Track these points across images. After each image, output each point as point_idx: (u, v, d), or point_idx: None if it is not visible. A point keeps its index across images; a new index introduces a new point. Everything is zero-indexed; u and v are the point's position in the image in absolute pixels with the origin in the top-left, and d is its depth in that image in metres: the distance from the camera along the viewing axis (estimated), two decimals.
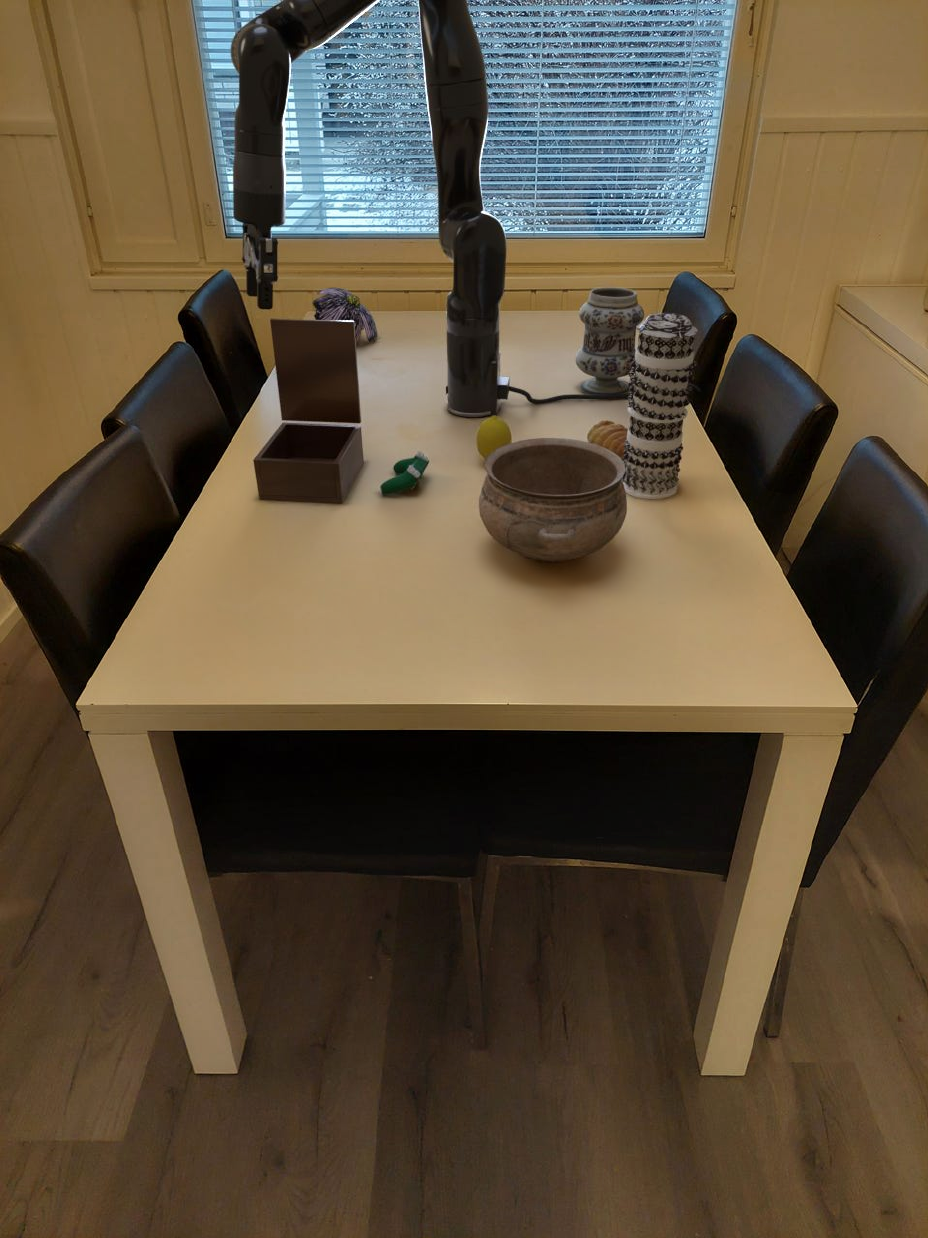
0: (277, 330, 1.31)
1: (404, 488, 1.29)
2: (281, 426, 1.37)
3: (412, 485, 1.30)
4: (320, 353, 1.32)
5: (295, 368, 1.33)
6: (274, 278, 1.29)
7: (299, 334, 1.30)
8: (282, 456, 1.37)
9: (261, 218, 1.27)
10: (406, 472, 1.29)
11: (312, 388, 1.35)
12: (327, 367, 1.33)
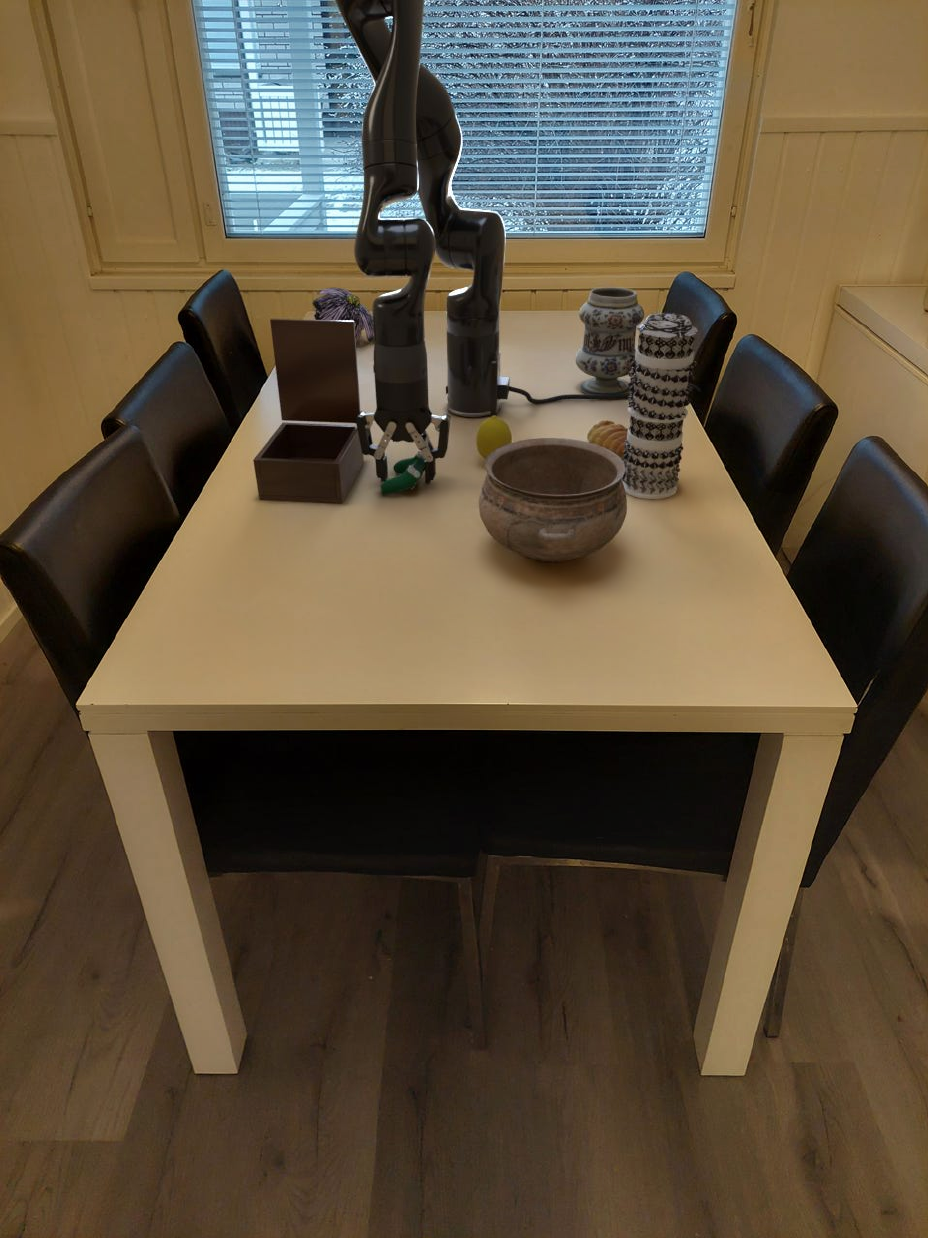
0: (277, 330, 1.31)
1: (404, 488, 1.29)
2: (281, 426, 1.37)
3: (412, 485, 1.30)
4: (320, 353, 1.32)
5: (295, 368, 1.33)
6: (446, 450, 1.31)
7: (299, 334, 1.30)
8: (282, 456, 1.37)
9: (427, 398, 1.25)
10: (406, 472, 1.29)
11: (312, 388, 1.35)
12: (327, 367, 1.33)
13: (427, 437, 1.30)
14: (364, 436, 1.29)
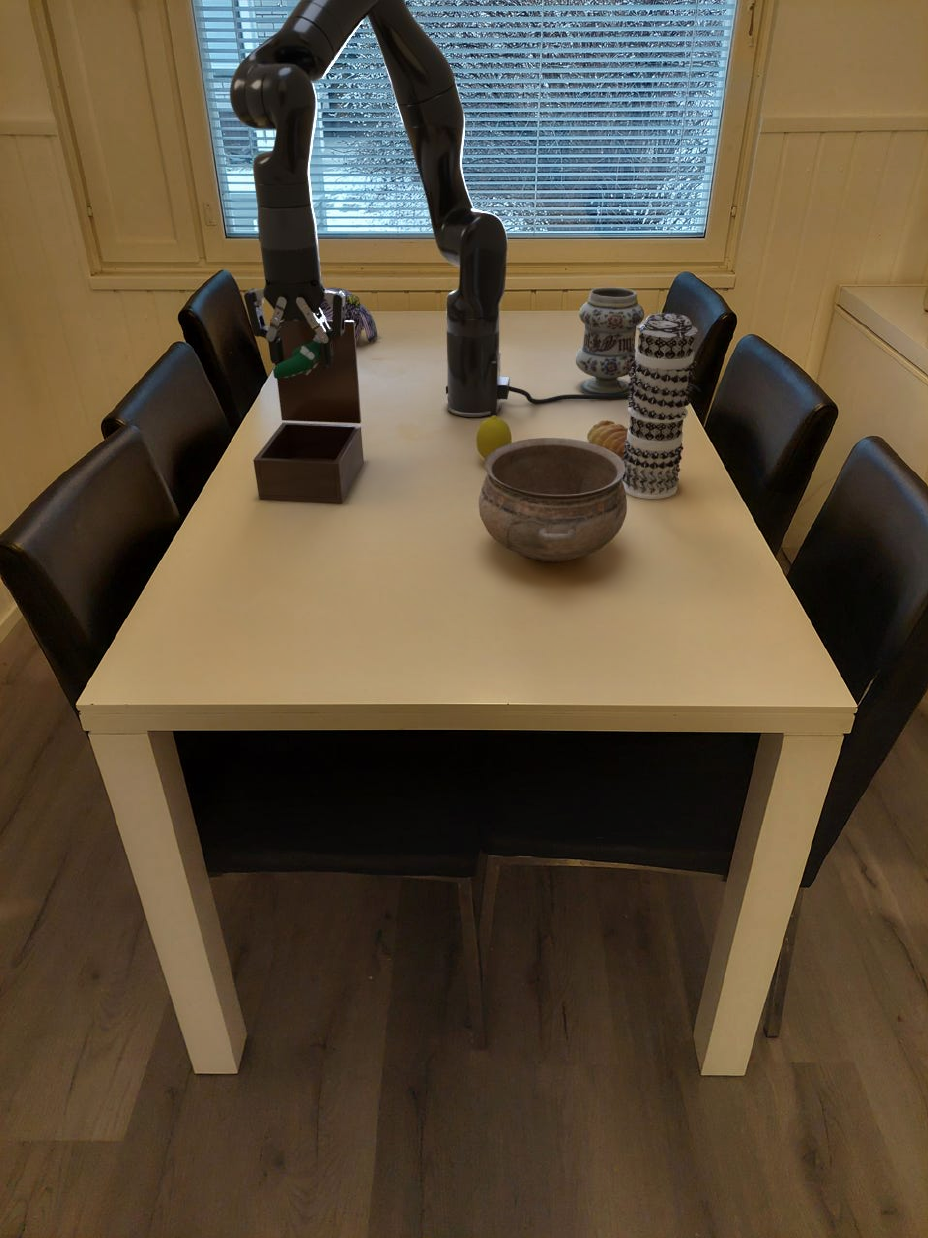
0: None
1: (297, 371, 1.22)
2: (281, 426, 1.37)
3: (306, 368, 1.22)
4: None
5: None
6: (343, 331, 1.23)
7: (299, 334, 1.30)
8: (282, 456, 1.37)
9: (318, 271, 1.17)
10: (299, 353, 1.21)
11: (312, 388, 1.35)
12: None
13: (322, 317, 1.22)
14: (254, 315, 1.21)
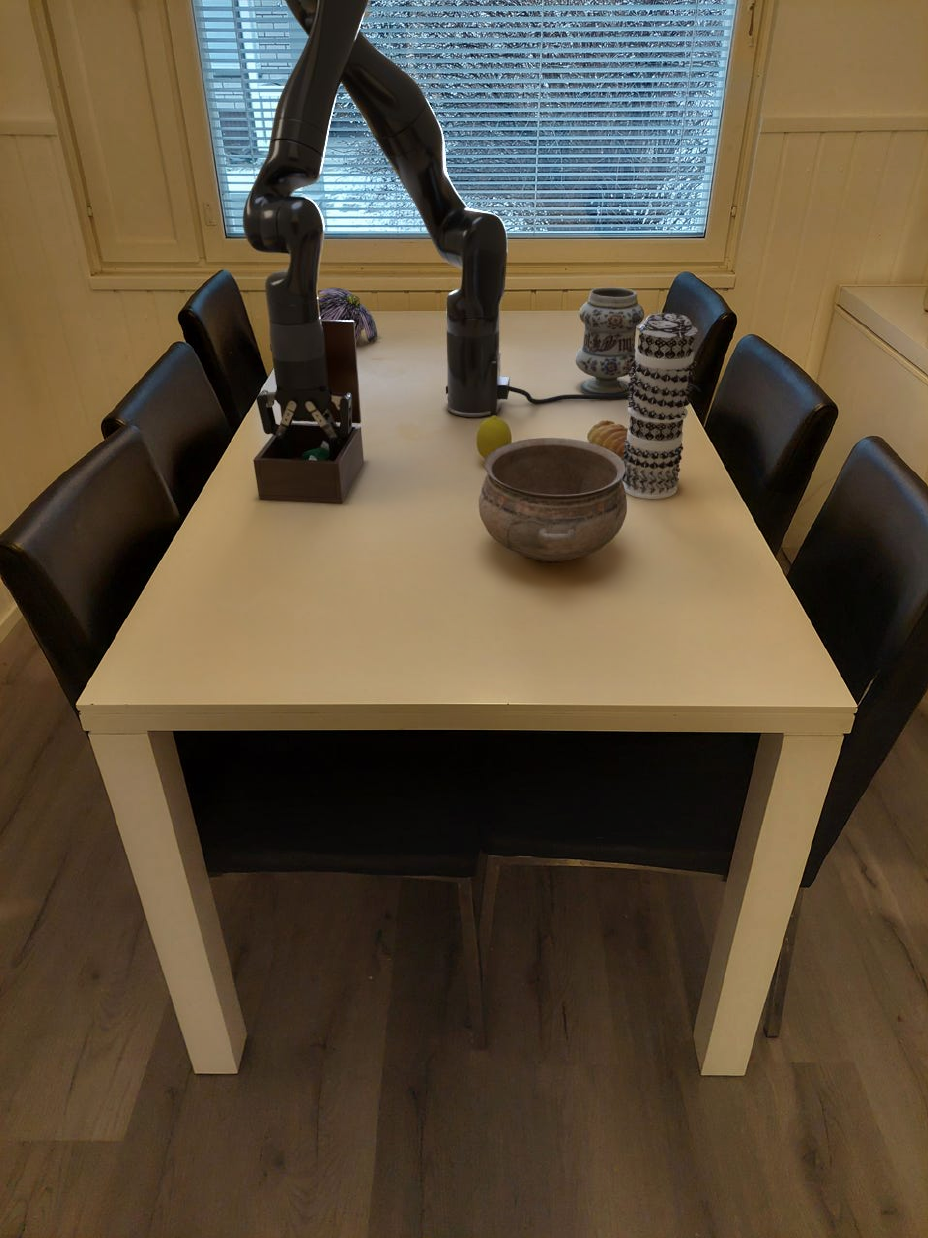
0: None
1: None
2: None
3: None
4: None
5: None
6: (350, 428, 1.31)
7: None
8: None
9: (325, 377, 1.25)
10: None
11: None
12: (327, 367, 1.33)
13: (330, 416, 1.30)
14: (265, 415, 1.29)
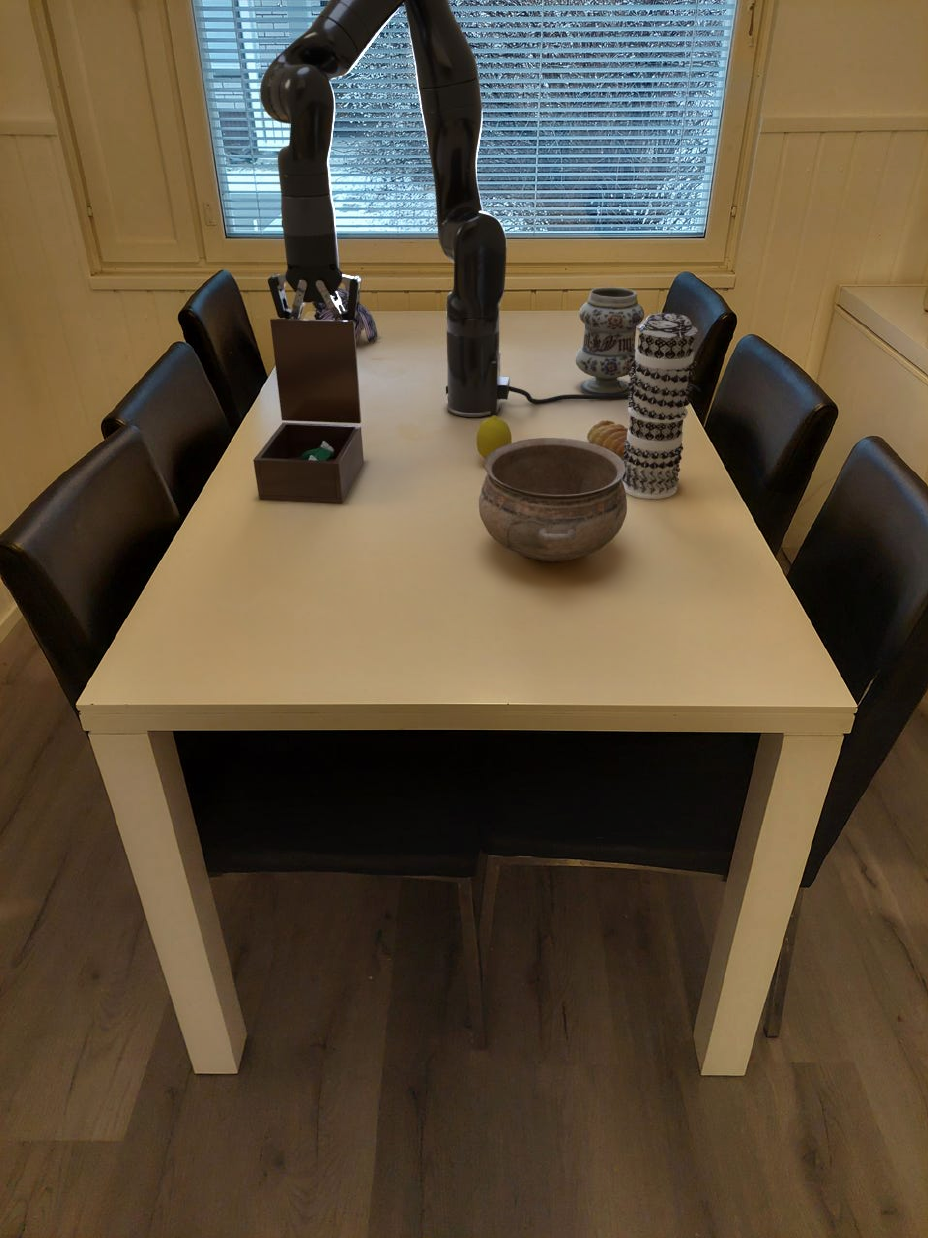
0: (277, 330, 1.31)
1: None
2: (281, 426, 1.37)
3: None
4: (320, 353, 1.32)
5: (295, 368, 1.33)
6: (356, 313, 1.32)
7: (299, 334, 1.30)
8: (282, 456, 1.37)
9: (336, 256, 1.27)
10: None
11: (312, 388, 1.35)
12: (327, 367, 1.33)
13: (338, 300, 1.32)
14: (278, 298, 1.31)
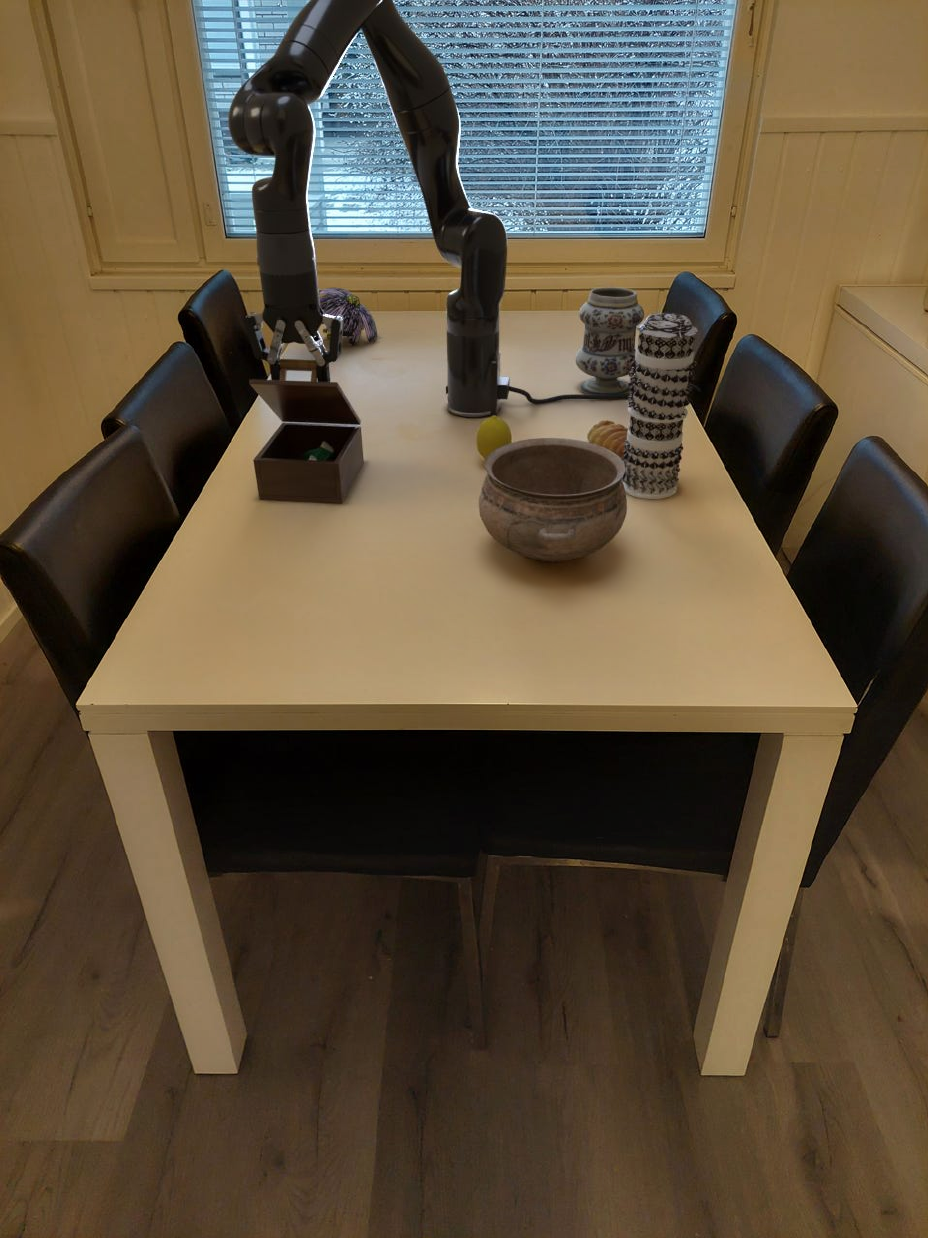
0: (259, 388, 1.24)
1: None
2: (281, 426, 1.37)
3: None
4: (308, 398, 1.27)
5: (285, 403, 1.30)
6: (339, 354, 1.24)
7: (283, 390, 1.25)
8: (282, 456, 1.37)
9: (316, 294, 1.18)
10: None
11: (306, 411, 1.32)
12: (318, 403, 1.29)
13: (320, 340, 1.23)
14: (254, 338, 1.22)
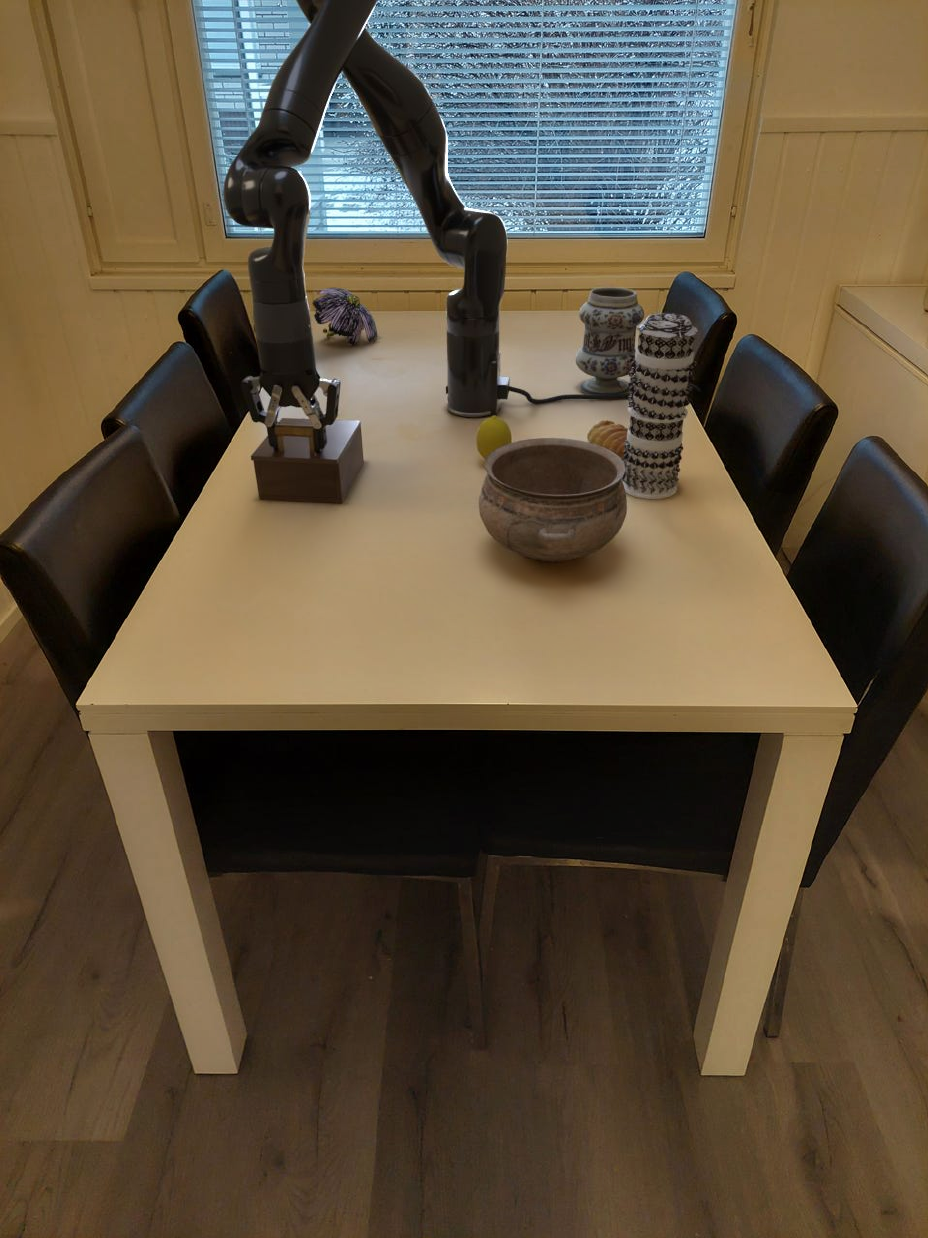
0: None
1: None
2: None
3: None
4: None
5: None
6: (336, 416, 1.24)
7: None
8: None
9: (313, 360, 1.19)
10: None
11: None
12: None
13: (316, 403, 1.24)
14: (251, 402, 1.22)
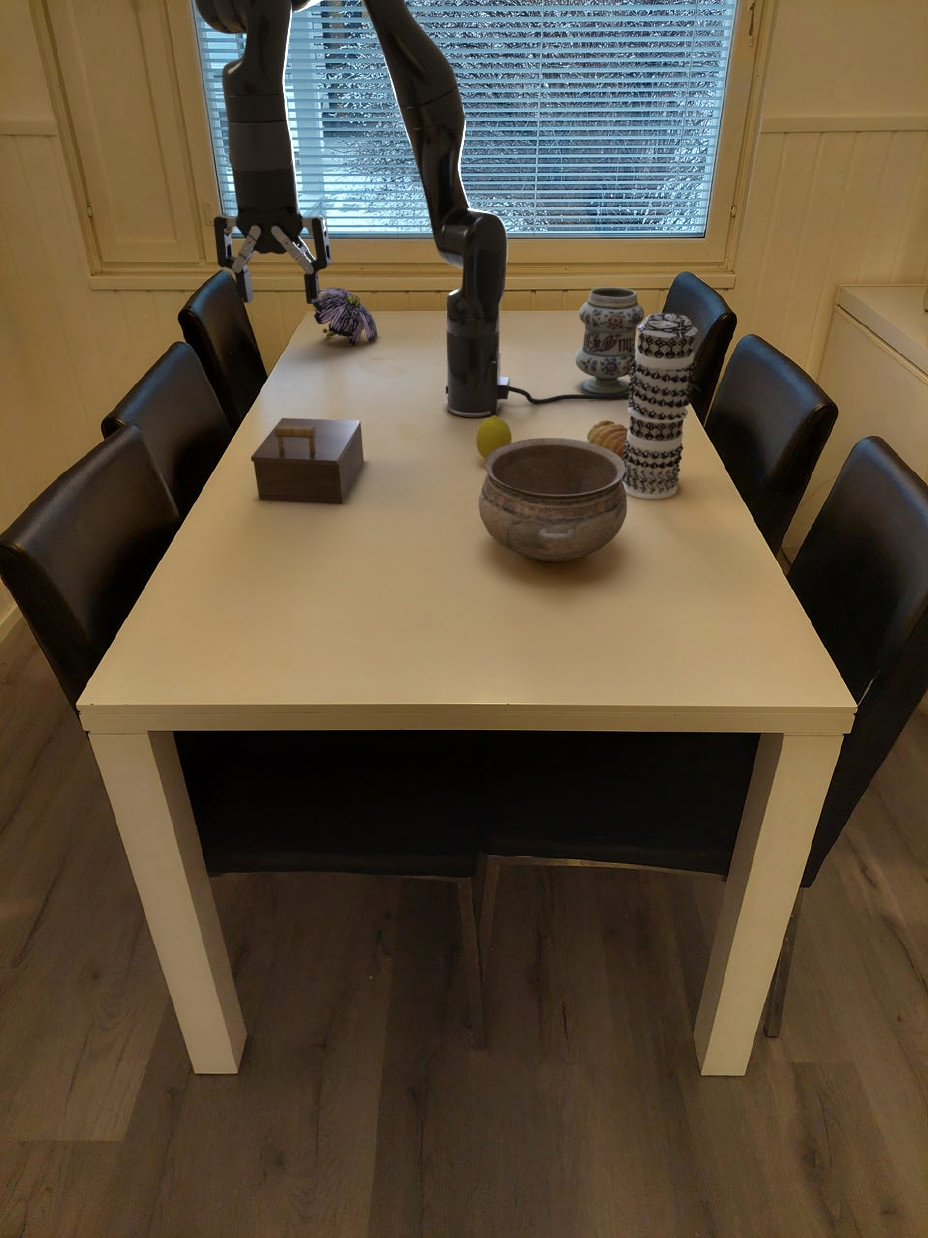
0: None
1: None
2: None
3: None
4: None
5: None
6: (329, 261, 1.12)
7: None
8: None
9: (295, 196, 1.07)
10: None
11: None
12: None
13: (304, 246, 1.12)
14: (222, 242, 1.10)
